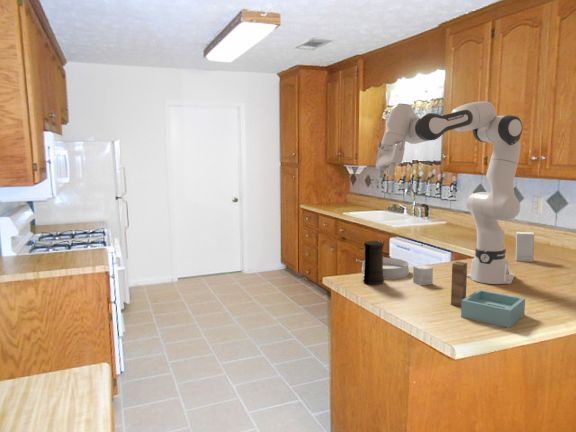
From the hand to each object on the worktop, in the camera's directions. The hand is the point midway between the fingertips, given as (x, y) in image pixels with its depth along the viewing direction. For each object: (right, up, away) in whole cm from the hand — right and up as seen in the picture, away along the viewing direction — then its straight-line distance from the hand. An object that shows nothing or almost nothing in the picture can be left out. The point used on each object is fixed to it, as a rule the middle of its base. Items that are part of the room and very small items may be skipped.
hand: (384, 177), depth 178 cm
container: (0, -45, +24) cm, 51 cm away
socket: (+34, -50, -19) cm, 63 cm away
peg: (+27, -49, -6) cm, 56 cm away
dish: (+9, -43, +40) cm, 59 cm away
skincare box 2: (+85, -39, +59) cm, 110 cm away
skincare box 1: (+21, -45, +22) cm, 54 cm away
